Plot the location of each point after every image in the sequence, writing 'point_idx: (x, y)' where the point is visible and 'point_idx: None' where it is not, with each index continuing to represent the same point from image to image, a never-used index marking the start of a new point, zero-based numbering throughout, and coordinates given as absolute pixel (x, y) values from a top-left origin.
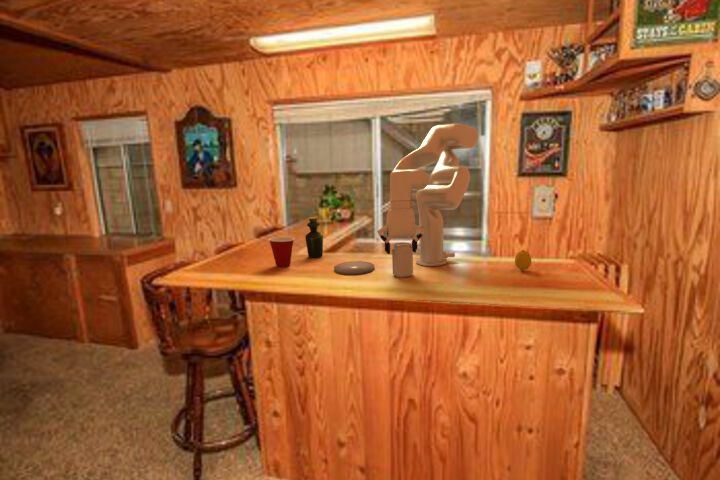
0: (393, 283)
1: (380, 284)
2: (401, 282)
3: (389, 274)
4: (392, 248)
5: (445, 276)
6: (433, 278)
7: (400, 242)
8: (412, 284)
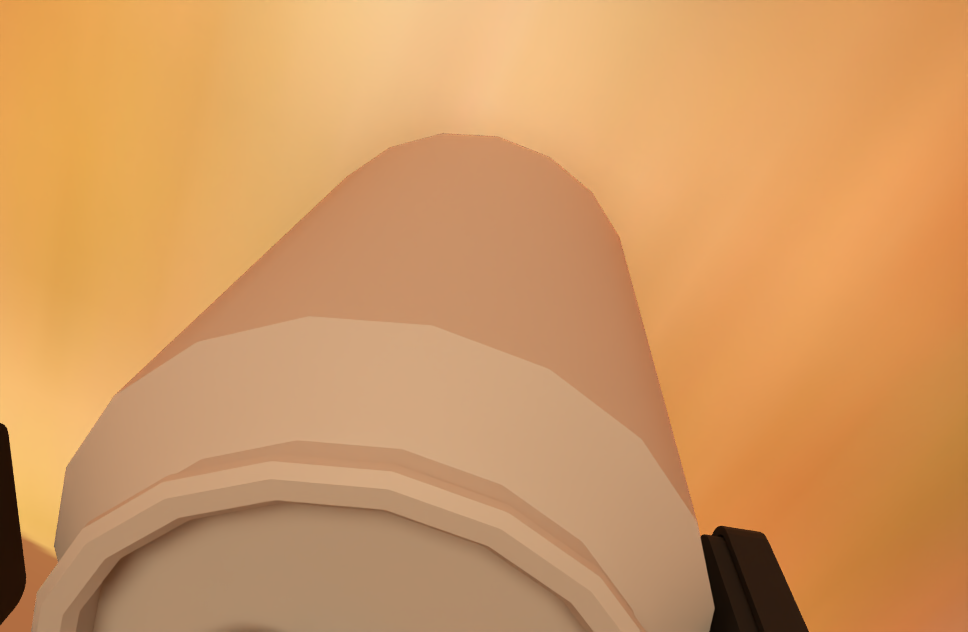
0: None
1: None
2: None
3: (293, 140)
4: (58, 558)
5: (952, 569)
6: None
7: (394, 488)
8: None
